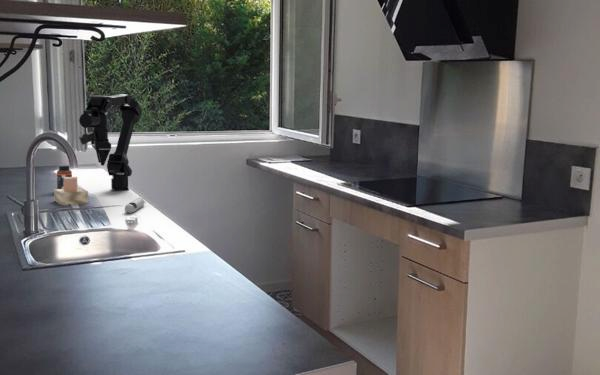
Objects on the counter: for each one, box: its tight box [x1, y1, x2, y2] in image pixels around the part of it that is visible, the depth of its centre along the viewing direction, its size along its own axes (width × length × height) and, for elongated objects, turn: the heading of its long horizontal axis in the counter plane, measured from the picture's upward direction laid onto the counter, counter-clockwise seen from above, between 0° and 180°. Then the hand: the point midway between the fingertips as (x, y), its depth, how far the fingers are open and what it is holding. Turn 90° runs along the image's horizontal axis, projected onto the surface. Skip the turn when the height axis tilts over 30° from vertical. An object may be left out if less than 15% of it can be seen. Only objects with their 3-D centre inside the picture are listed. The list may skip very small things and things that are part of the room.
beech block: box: [53, 187, 89, 206], centre depth 250 cm, size 10×10×5 cm
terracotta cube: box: [64, 176, 79, 192], centre depth 249 cm, size 4×4×5 cm
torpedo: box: [124, 189, 147, 214], centre depth 241 cm, size 18×5×7 cm, turn 177°
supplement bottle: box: [56, 164, 73, 189], centre depth 271 cm, size 6×6×11 cm
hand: (101, 163), depth 265 cm, fingers open, 9 cm apart
